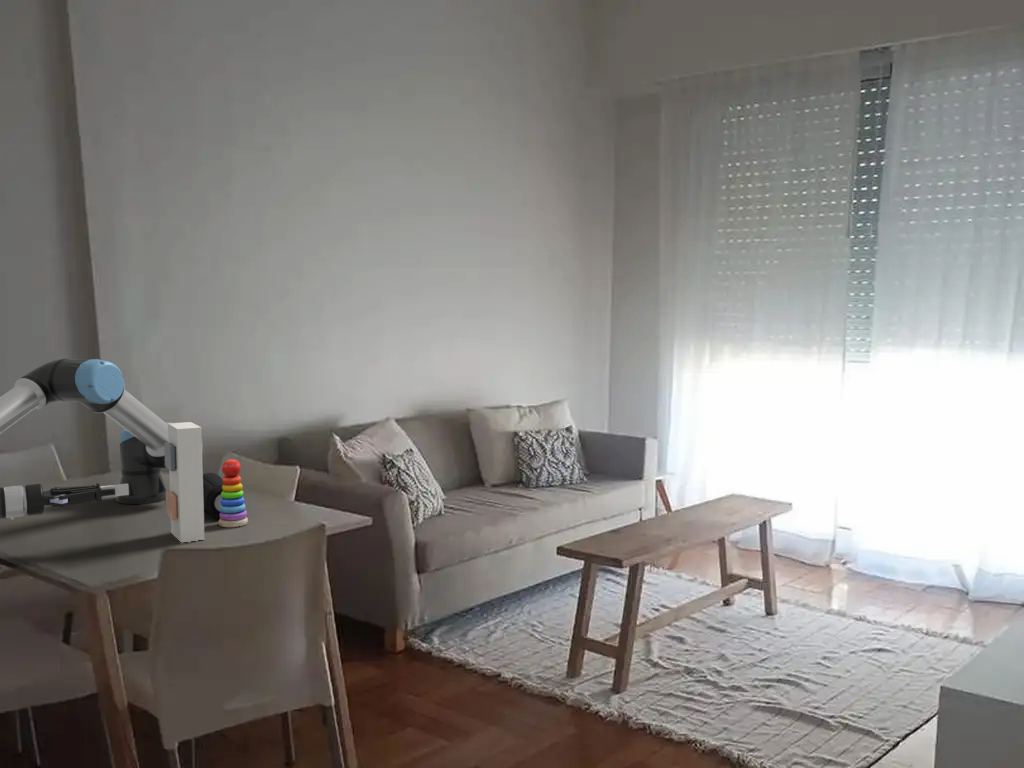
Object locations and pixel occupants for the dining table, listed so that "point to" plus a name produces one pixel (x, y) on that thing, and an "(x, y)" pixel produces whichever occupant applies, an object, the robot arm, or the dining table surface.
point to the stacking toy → (232, 496)
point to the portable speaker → (212, 493)
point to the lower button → (171, 505)
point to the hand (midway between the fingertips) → (128, 489)
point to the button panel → (187, 481)
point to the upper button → (170, 456)
